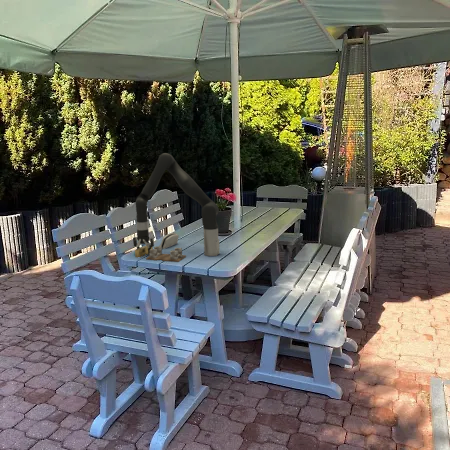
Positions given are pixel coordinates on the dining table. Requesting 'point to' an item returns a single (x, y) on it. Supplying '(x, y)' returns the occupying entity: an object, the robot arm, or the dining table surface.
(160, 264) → the dining table surface
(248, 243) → the dining table surface
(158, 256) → the chain bed
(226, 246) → the dining table surface
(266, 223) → the dining table surface
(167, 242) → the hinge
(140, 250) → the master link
